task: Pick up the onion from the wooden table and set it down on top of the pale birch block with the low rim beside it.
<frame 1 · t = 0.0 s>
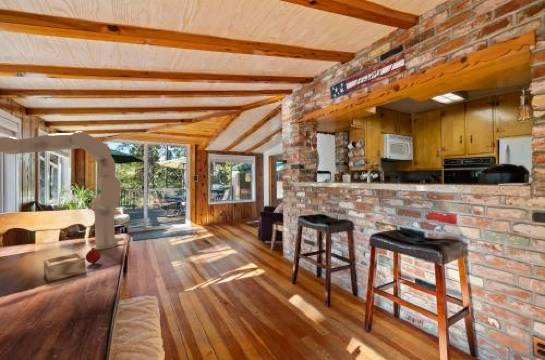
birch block: (64, 273, 106), on the table
onion: (93, 264, 117), on the table
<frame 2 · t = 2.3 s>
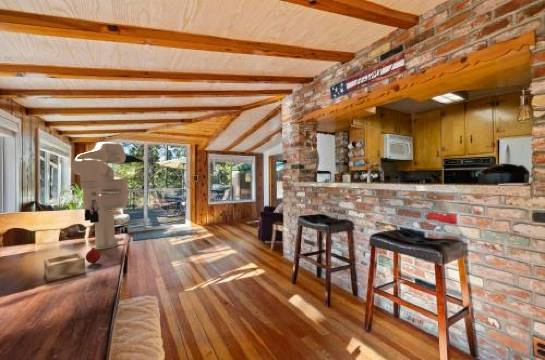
hand: (91, 221, 116), 20 cm above the table, tool pointing down, fingers open, 9 cm apart
nothing on the table moved.
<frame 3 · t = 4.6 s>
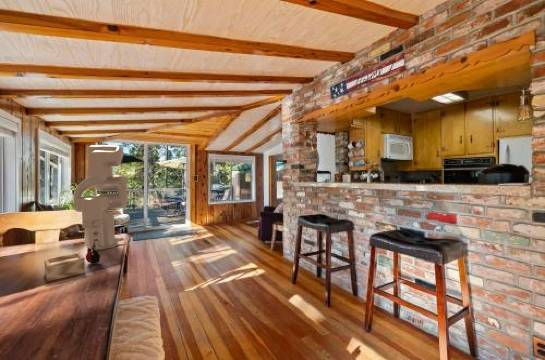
hand: (93, 261, 117), 1 cm above the table, tool pointing down, fingers closed on onion, 6 cm apart
onion: (93, 264, 117), on the table, touching gripper
everything else where it was.
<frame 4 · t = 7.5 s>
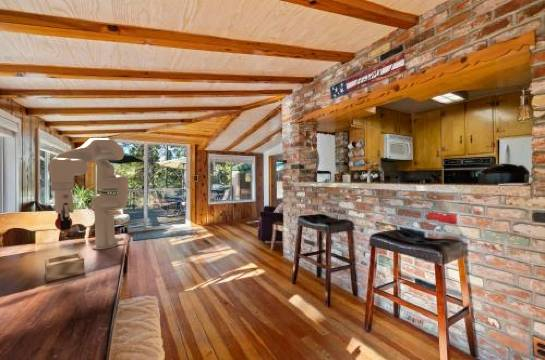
hand: (63, 228, 106), 19 cm above the table, tool pointing down, fingers closed on onion, 5 cm apart
onion: (64, 231, 106), point 18 cm above the table, touching gripper
everything else where it was.
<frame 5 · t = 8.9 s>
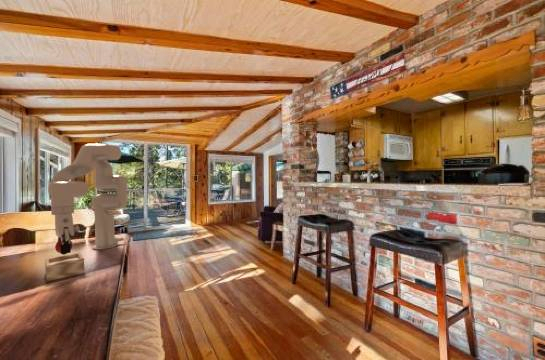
hand: (64, 251, 106), 9 cm above the table, tool pointing down, fingers closed on onion, 5 cm apart
onion: (64, 255, 106), point 8 cm above the table, touching gripper
everything else where it was.
when the fingers open (7 cm above the table, at t = 10.2 s): onion stays where it is, resting on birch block.
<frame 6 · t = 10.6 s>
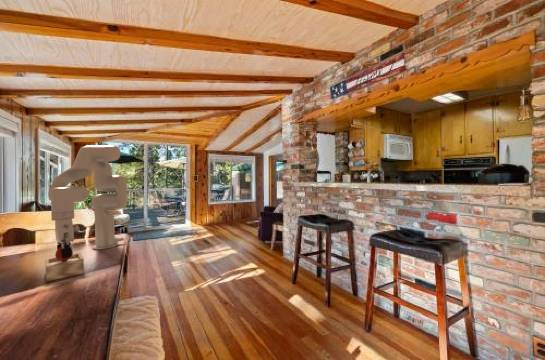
hand: (64, 255, 106), 8 cm above the table, tool pointing down, fingers open, 9 cm apart
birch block: (64, 273, 106), on the table, touching onion
onion: (64, 262, 106), point 4 cm above the table, touching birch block
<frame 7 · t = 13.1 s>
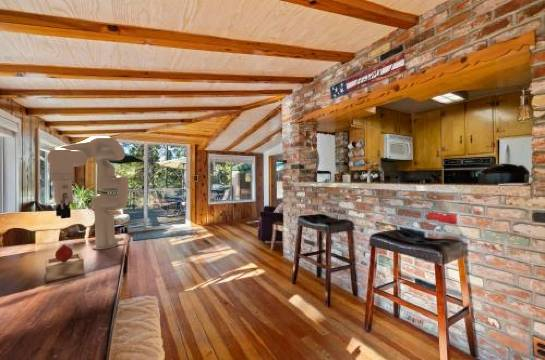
hand: (63, 216, 107), 24 cm above the table, tool pointing down, fingers open, 9 cm apart
nothing on the table moved.
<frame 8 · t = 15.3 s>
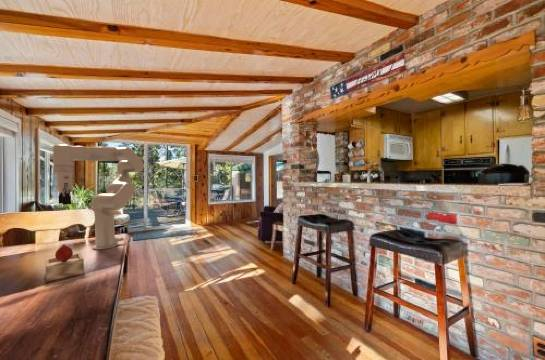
hand: (64, 203, 123), 28 cm above the table, tool pointing down, fingers open, 9 cm apart
nothing on the table moved.
at the end: onion inside the target area on the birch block (0.1 cm from its centre), point 4.8 cm above the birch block's base; onion touching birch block; the gripper is holding nothing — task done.
